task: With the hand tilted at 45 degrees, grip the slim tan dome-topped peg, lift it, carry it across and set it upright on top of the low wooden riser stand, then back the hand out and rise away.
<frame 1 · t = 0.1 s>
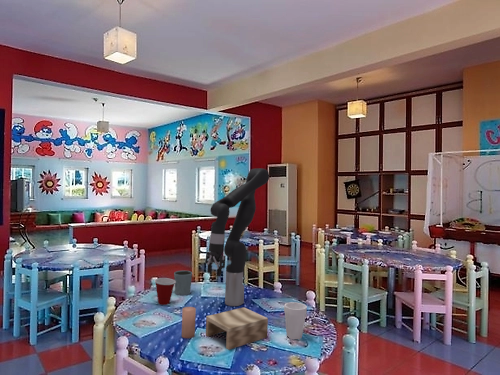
hand: (213, 274, 182), 17 cm above the table, tool pointing down, fingers open, 8 cm apart
plastic cup: (164, 303, 187), on the table
foam cup: (294, 337, 151), on the table
wooden riser stand: (236, 336, 149), on the table
drinking glass: (182, 293, 204), on the table
tan dome-topped peg: (188, 335, 148), on the table
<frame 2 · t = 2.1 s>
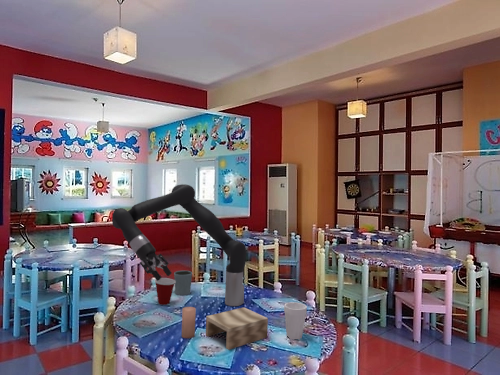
hand: (165, 277, 151), 23 cm above the table, tool tilted 45°, fingers open, 8 cm apart
nothing on the table moved.
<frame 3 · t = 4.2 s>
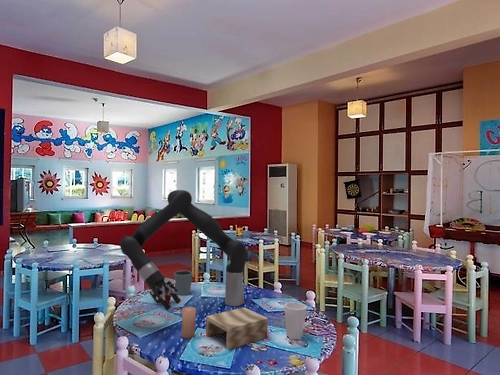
hand: (174, 305, 150), 11 cm above the table, tool tilted 45°, fingers open, 8 cm apart
nothing on the table moved.
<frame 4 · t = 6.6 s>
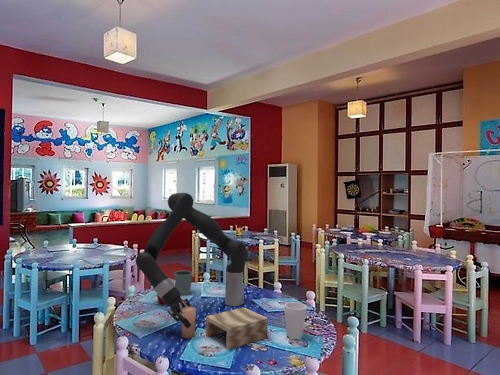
hand: (192, 324, 147), 5 cm above the table, tool tilted 45°, fingers closed on tan dome-topped peg, 5 cm apart
tan dome-topped peg: (188, 335, 148), on the table, touching gripper
everything else where it was.
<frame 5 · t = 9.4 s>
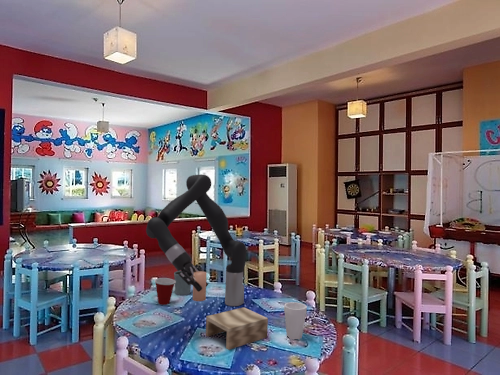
hand: (203, 288, 148), 20 cm above the table, tool tilted 45°, fingers closed on tan dome-topped peg, 5 cm apart
tan dome-topped peg: (199, 299, 149), point 15 cm above the table, touching gripper
everything else where it was.
when the fingers open (14 cm above the table, at t = 12.3 s): tan dome-topped peg drops 1 cm, resting on wooden riser stand.
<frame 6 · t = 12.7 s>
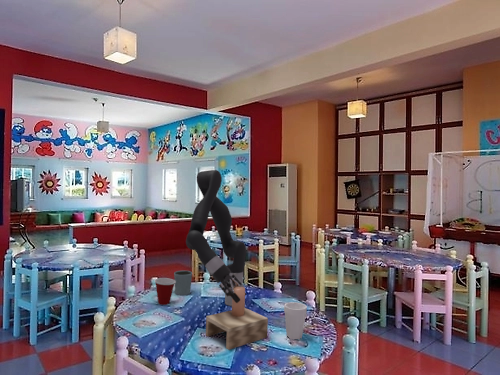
hand: (241, 298, 152), 15 cm above the table, tool tilted 45°, fingers open, 8 cm apart
tan dome-topped peg: (238, 314, 152), point 8 cm above the table, touching wooden riser stand
everything else where it was.
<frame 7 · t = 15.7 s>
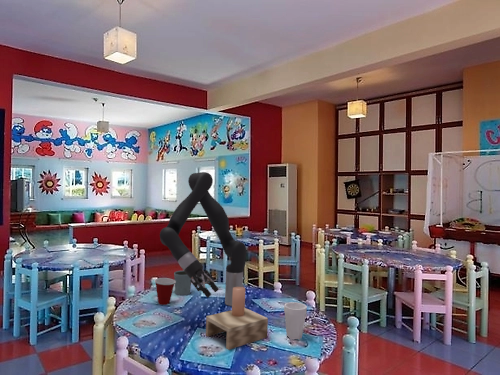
hand: (213, 293, 156), 15 cm above the table, tool tilted 45°, fingers open, 8 cm apart
nothing on the table moved.
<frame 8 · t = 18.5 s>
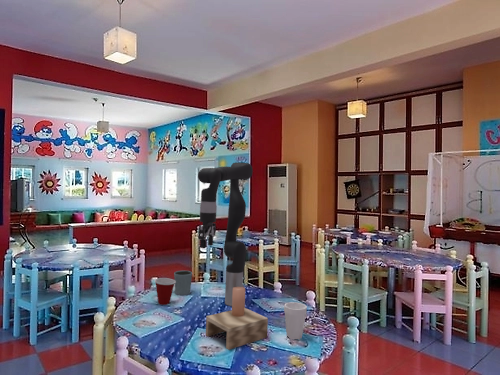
hand: (206, 246, 164), 34 cm above the table, tool pointing down, fingers open, 8 cm apart
nothing on the table moved.
at the end: tan dome-topped peg inside the target area on the wooden riser stand (3.5 cm from its centre), point 8.0 cm above the wooden riser stand's base; tan dome-topped peg tilted 0°; the gripper is holding nothing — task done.
